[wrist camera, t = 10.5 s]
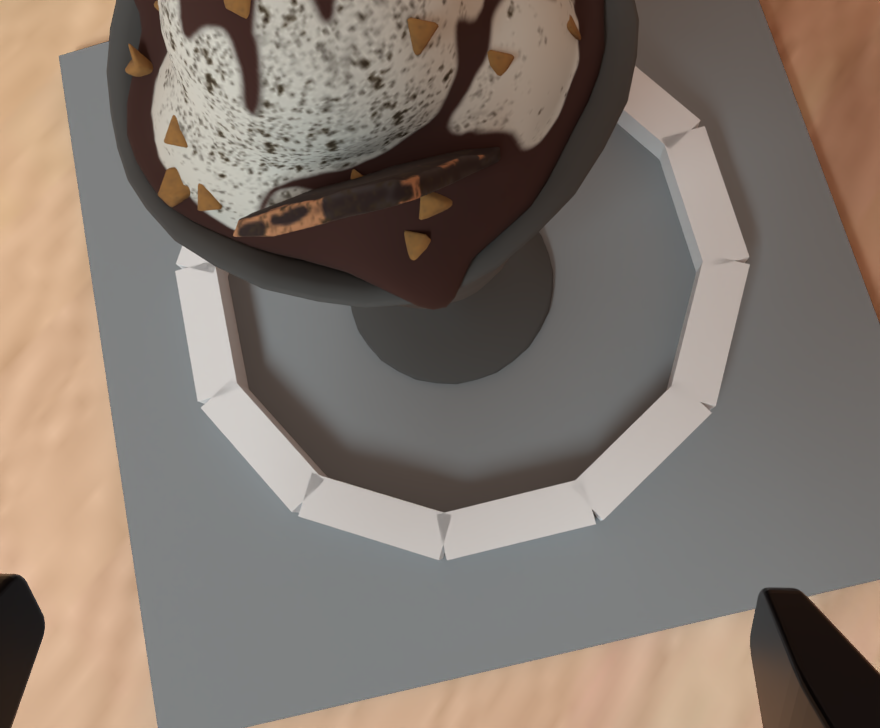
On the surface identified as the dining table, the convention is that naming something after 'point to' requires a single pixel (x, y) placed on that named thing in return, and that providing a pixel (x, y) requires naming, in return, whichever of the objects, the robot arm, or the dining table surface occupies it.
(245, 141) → the sundae
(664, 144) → the ring mat
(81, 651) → the dining table surface
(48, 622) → the dining table surface
